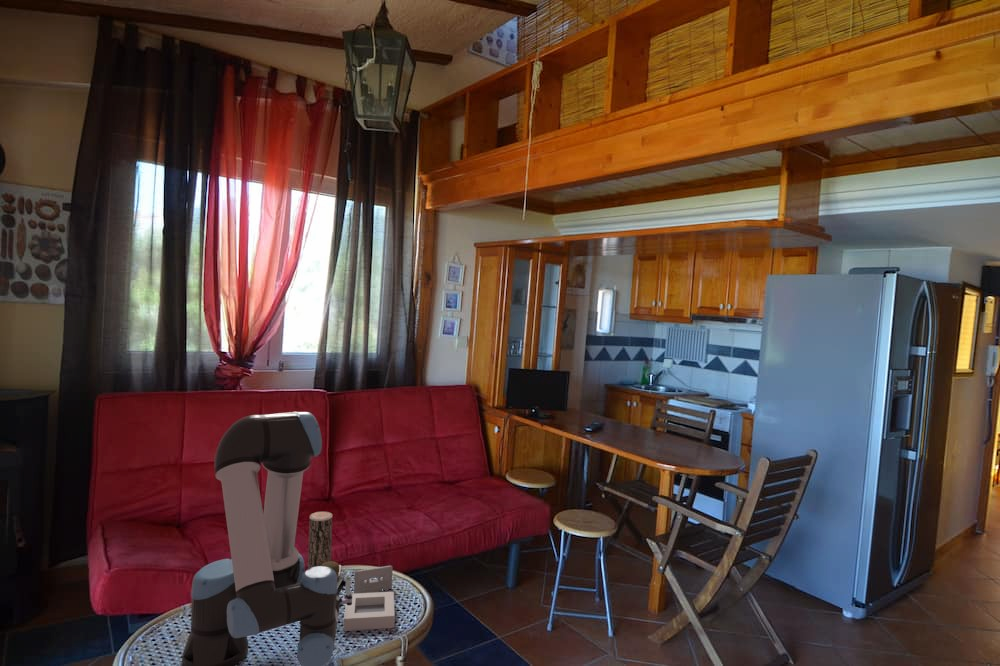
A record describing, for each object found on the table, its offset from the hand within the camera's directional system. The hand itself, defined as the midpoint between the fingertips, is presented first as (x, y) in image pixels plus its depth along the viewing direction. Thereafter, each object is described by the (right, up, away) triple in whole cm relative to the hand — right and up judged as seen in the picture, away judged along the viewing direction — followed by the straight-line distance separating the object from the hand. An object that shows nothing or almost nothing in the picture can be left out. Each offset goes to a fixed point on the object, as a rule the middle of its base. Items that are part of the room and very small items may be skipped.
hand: (330, 570), depth 160 cm
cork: (+1, -7, -5) cm, 9 cm away
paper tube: (-10, -16, +21) cm, 28 cm away
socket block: (+9, -17, +10) cm, 22 cm away
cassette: (+6, -17, +24) cm, 30 cm away
